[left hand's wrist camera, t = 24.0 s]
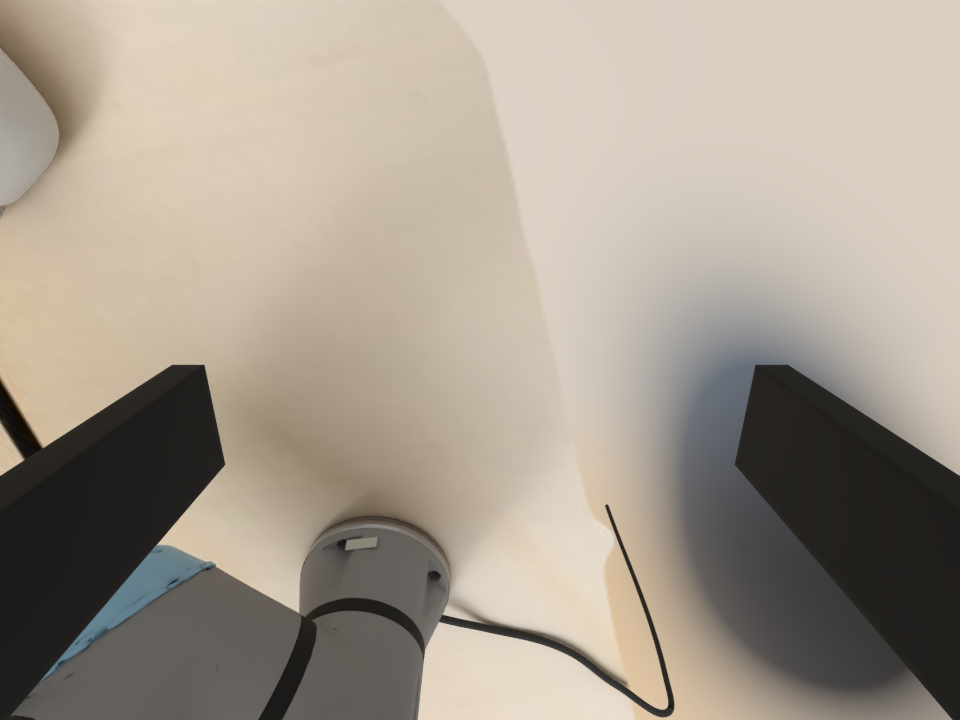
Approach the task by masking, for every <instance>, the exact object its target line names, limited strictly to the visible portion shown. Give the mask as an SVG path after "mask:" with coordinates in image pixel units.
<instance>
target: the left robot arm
mask: <svg viewBox="0 0 960 720" xmlns="http://www.w3.org/2000/svg"><path fill="white" fill-rule="evenodd" d="M224 465H225V462H224V457H223V452H222V447H221V442H220V438H219V433H218V428H217V423H216V418H215V414H214V409H213V404H212V399H211V394H210V390H209V385H208V380H207V375H206V371H205V366H204V365H171V366H170V367H168V368H167V369H165V370H164V371H162V372H161V373H159V374H157V375H156V376H154V377H153V378H151V379H150V380H148V381H147V382H145V383H143V384H142V385H140V386H139V387H137V388H136V389H134V390H133V391H131V392H130V393H128V394H126V395H125V396H123V397H122V398H120V399H119V400H117V401H116V402H114V403H113V404H111V405H109V406H108V407H106V408H105V409H103V410H102V411H100V412H99V413H97V414H95V415H94V416H92V417H91V418H89V419H88V420H86V421H85V422H83V423H82V424H80V425H78V426H77V427H75V428H74V429H72V430H71V431H69V432H68V433H66V434H65V435H63V436H61V437H60V438H58V439H57V440H55V441H54V442H52V443H51V444H49V445H48V446H46V447H44V448H43V449H41V450H40V451H38V452H37V453H35V454H34V455H32V456H30V457H29V458H27V459H26V460H24V461H23V462H21V463H20V464H18V465H17V466H15V467H13V468H12V469H10V470H9V471H7V472H6V473H4V474H3V475H1V476H0V720H418V711H419V701H420V691H421V682H422V672H423V662H424V654H425V649H426V647H427V645H428V642H429V640H430V638H431V636H432V634H433V632H434V630H435V628H436V626H437V624H438V622H441V623H446V624H450V625H455V626H459V627H464V628H469V629H475V630H480V631H484V632H489V633H493V634H498V635H503V636H508V637H513V638H518V639H523V640H527V641H531V642H535V643H539V644H542V645H545V646H548V647H551V648H554V649H556V650H559V651H561V652H563V653H565V654H567V655H569V656H571V657H573V658H574V659H576V660H578V661H579V662H581V663H582V664H583V665H585V666H586V667H587V668H588V669H590V670H591V671H592V672H593V673H595V674H596V675H597V676H598V677H600V678H601V679H602V680H604V681H605V682H607V683H608V684H609V685H611V686H613V687H614V688H616V689H617V690H619V691H620V692H622V693H623V694H625V695H626V696H627V697H629V698H630V699H631V700H633V701H634V702H635V703H637V704H638V705H639V706H641V707H642V708H644V709H645V710H647V711H648V712H650V713H652V714H653V715H656V716H658V717H668V716H670V715H671V714H672V713H673V711H674V706H675V704H674V697H673V692H672V688H671V685H670V681H669V677H668V673H667V669H666V665H665V660H664V657H663V653H662V650H661V646H660V643H659V639H658V636H657V633H656V630H655V627H654V624H653V621H652V618H651V615H650V612H649V610H648V607H647V604H646V601H645V599H644V596H643V593H642V591H641V588H640V585H639V583H638V580H637V578H636V575H635V573H634V570H633V568H632V565H631V562H630V560H629V558H628V555H627V552H626V550H625V547H624V545H623V542H622V540H621V537H620V535H619V532H618V530H617V527H616V524H615V522H614V519H613V516H612V514H611V511H610V508H609V505H608V504H606V505H605V508H606V510H607V513H608V516H609V519H610V522H611V524H612V527H613V530H614V532H615V535H616V538H617V540H618V543H619V545H620V548H621V551H622V553H623V556H624V558H625V561H626V564H627V566H628V569H629V571H630V574H631V577H632V579H633V582H634V585H635V587H636V590H637V593H638V595H639V598H640V601H641V604H642V607H643V609H644V612H645V615H646V618H647V621H648V624H649V627H650V630H651V634H652V637H653V640H654V644H655V648H656V651H657V655H658V659H659V663H660V667H661V671H662V676H663V680H664V684H665V688H666V692H667V697H668V707H667V709H665V710H660V709H657V708H654V707H653V706H651V705H649V704H648V703H646V702H645V701H643V700H642V699H641V698H639V697H638V696H637V695H635V694H634V693H633V692H631V691H630V690H629V689H627V688H626V687H624V686H623V685H621V684H620V683H618V682H617V681H615V680H614V679H612V678H611V677H609V676H608V675H607V674H605V673H604V672H603V671H601V670H600V669H599V668H598V667H596V666H595V665H594V664H593V663H591V662H590V661H589V660H588V659H586V658H585V657H583V656H582V655H580V654H579V653H577V652H576V651H574V650H572V649H570V648H569V647H566V646H564V645H562V644H560V643H558V642H555V641H552V640H550V639H547V638H544V637H540V636H537V635H533V634H529V633H525V632H520V631H515V630H511V629H505V628H500V627H496V626H491V625H487V624H482V623H478V622H473V621H467V620H463V619H458V618H454V617H449V616H445V615H442V614H443V612H444V610H445V607H446V605H447V602H448V598H449V589H450V569H449V565H448V562H447V559H446V557H445V555H444V553H443V552H442V550H441V549H440V547H439V546H438V545H437V544H436V542H435V541H434V540H433V539H432V538H430V537H429V536H428V535H427V534H425V533H424V532H423V531H421V530H419V529H418V528H416V527H414V526H412V525H410V524H407V523H405V522H402V521H399V520H395V519H391V518H384V517H361V518H355V519H351V520H347V521H344V522H341V523H339V524H337V525H335V526H333V527H331V528H330V529H328V530H327V531H325V532H324V533H323V534H322V535H321V536H320V537H319V538H318V539H317V540H316V541H315V542H314V544H313V545H312V547H311V549H310V551H309V553H308V555H307V557H306V560H305V562H304V564H303V567H302V571H301V578H300V604H299V613H297V612H296V611H294V610H292V609H290V608H288V607H286V606H285V605H283V604H281V603H279V602H277V601H275V600H274V599H272V598H270V597H268V596H266V595H264V594H263V593H261V592H259V591H257V590H255V589H253V588H252V587H250V586H248V585H246V584H245V583H243V582H241V581H239V580H238V579H236V578H234V577H232V576H231V575H229V574H227V573H225V572H224V571H222V570H220V569H219V568H217V567H216V564H214V563H213V562H205V561H203V560H200V559H198V558H196V557H194V556H192V555H189V554H187V553H185V552H183V551H181V550H179V549H177V548H175V547H172V546H168V545H157V544H158V543H159V541H160V540H161V539H162V538H163V537H164V536H165V534H166V533H167V532H168V531H169V530H170V529H171V527H172V526H173V525H174V524H175V523H176V522H177V520H178V519H179V518H180V517H181V516H182V515H183V513H184V512H185V511H186V510H187V509H188V508H189V506H190V505H191V504H192V503H193V502H194V500H195V499H196V498H197V497H198V496H199V495H200V493H201V492H202V491H203V490H204V489H205V488H206V486H207V485H208V484H209V483H210V482H211V481H212V479H213V478H214V477H215V476H216V475H217V474H218V472H219V471H220V470H221V469H222V468H223V467H224ZM735 465H736V467H737V468H738V469H739V470H740V471H741V472H742V474H743V475H744V476H745V477H746V478H747V479H748V481H749V482H750V483H751V484H752V485H753V486H754V488H755V489H756V490H757V491H758V492H759V493H760V495H761V496H762V497H763V498H764V499H765V500H766V502H767V503H768V504H769V505H770V506H771V507H772V509H773V510H774V511H775V512H776V513H777V515H778V516H779V517H780V518H781V519H782V520H783V522H784V523H785V524H786V525H787V526H788V527H789V529H790V530H791V531H792V532H793V533H794V534H795V536H796V537H797V538H798V539H799V540H800V541H801V543H802V544H803V545H804V546H805V547H806V548H807V550H808V551H809V552H810V553H811V554H812V556H813V557H814V558H815V559H816V560H817V561H818V563H819V564H820V565H821V566H822V567H823V568H824V570H825V571H826V572H827V573H828V574H829V575H830V577H831V578H832V579H833V580H834V581H835V582H836V584H837V585H838V586H839V587H840V588H841V589H842V591H843V592H844V593H845V594H846V595H847V597H848V598H849V599H850V600H851V601H852V602H853V603H854V605H855V606H856V607H857V608H858V609H859V611H860V612H861V613H862V614H863V615H864V616H865V618H866V619H867V620H868V621H869V622H870V623H871V624H872V626H873V627H874V628H875V629H876V630H877V632H878V633H879V634H880V635H881V636H882V638H883V639H884V640H885V641H886V642H887V643H888V645H889V646H890V647H891V648H892V649H893V650H894V652H895V653H896V654H897V655H898V656H899V657H900V659H901V660H902V661H903V662H904V663H905V664H906V666H907V667H908V668H909V669H910V670H911V671H912V673H913V674H914V675H915V676H916V677H917V678H918V680H919V681H920V682H921V683H922V684H923V686H924V687H925V688H926V689H927V690H928V691H929V693H930V694H931V695H932V696H933V697H934V698H935V700H936V701H937V702H938V703H939V704H940V705H941V707H942V708H943V709H944V710H945V711H946V712H947V714H948V715H949V716H950V717H951V718H952V719H953V720H960V476H959V475H957V474H956V473H954V472H953V471H951V470H950V469H948V468H946V467H945V466H943V465H942V464H940V463H939V462H937V461H936V460H934V459H933V458H931V457H929V456H928V455H926V454H925V453H923V452H922V451H920V450H919V449H917V448H916V447H914V446H912V445H911V444H909V443H908V442H906V441H905V440H903V439H902V438H900V437H899V436H897V435H895V434H894V433H892V432H891V431H889V430H888V429H886V428H885V427H883V426H881V425H880V424H878V423H877V422H875V421H874V420H872V419H871V418H869V417H868V416H866V415H864V414H863V413H861V412H860V411H858V410H857V409H855V408H854V407H852V406H850V405H849V404H847V403H846V402H844V401H843V400H841V399H840V398H838V397H837V396H835V395H834V394H832V393H830V392H829V391H827V390H826V389H824V388H823V387H821V386H820V385H818V384H816V383H815V382H813V381H812V380H810V379H809V378H807V377H806V376H804V375H803V374H801V373H799V372H798V371H796V370H795V369H793V368H792V367H790V366H789V365H756V366H755V370H754V375H753V380H752V385H751V390H750V394H749V399H748V404H747V409H746V414H745V419H744V423H743V428H742V433H741V438H740V442H739V447H738V452H737V457H736V462H735Z"/></svg>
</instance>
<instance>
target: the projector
mask: <svg viewBox="0 0 960 720" xmlns="http://www.w3.org/2000/svg"><path fill="white" fill-rule="evenodd" d="M58 142H59V130H58V124H57V121H56V119H55V117H54V115H53V113H52V111H51V109H50V107H49V106H48V104H47V103H46V102H45V100H44V99H43V97H42V96H41V94H40V93H39V92H38V91H37V89H36V88H35V87H34V85H33V84H32V83H31V82H30V80H29V79H28V78H27V77H26V76H25V75H24V74H23V72H22V71H21V70H20V69H19V68H18V67H17V66H16V64H15V63H14V62H13V61H12V60H11V59H10V58H9V57H8V56H7V55H6V54H5V53H4V52H3V51H2V49H1V48H0V217H1V216H2V214H3V212H4V209H5V205H9V204H12V203H14V202H16V201H17V200H18V199H19V198H20V197H21V196H22V195H23V194H24V193H25V192H26V191H27V190H28V189H29V188H30V187H31V186H32V185H33V184H34V183H35V182H36V181H37V180H38V178H39V177H40V176H41V175H42V174H43V173H44V171H45V170H46V169H47V167H48V166H49V165H50V163H51V161H52V160H53V158H54V155H55V153H56V150H57V147H58Z"/></svg>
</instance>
